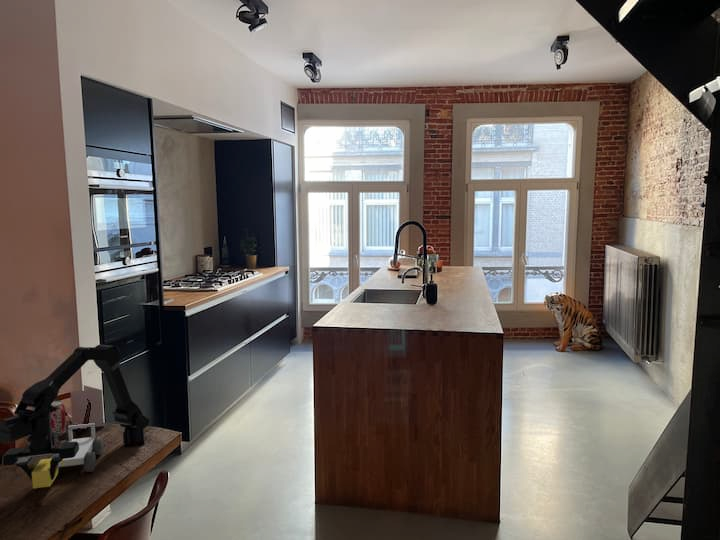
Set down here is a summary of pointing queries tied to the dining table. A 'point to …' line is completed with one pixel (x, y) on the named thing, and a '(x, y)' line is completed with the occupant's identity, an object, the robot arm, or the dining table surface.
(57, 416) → the soda can
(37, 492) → the dining table surface
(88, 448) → the trolley
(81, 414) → the greeting card
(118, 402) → the robot arm
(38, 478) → the block
